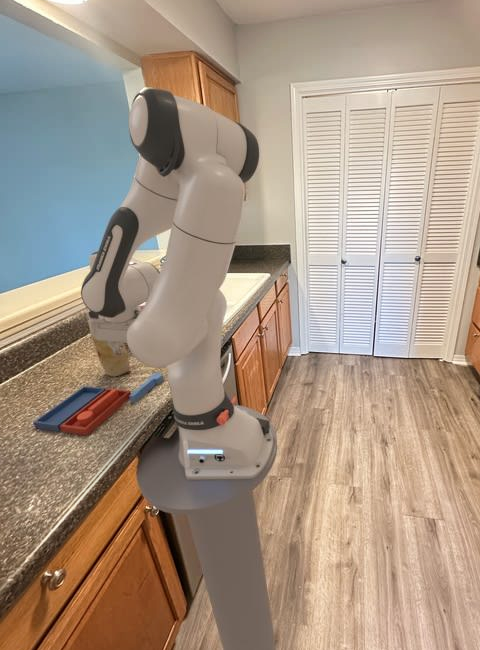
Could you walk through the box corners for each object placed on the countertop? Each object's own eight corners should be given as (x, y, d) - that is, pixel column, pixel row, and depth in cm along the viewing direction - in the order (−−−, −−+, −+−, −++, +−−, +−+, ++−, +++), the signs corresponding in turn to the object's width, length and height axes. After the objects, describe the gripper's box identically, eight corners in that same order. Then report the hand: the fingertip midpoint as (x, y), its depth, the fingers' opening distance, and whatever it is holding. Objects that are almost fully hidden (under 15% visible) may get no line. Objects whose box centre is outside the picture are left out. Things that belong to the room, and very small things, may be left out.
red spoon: (112, 395, 95) (110, 388, 94) (122, 396, 94) (120, 389, 93) (75, 424, 83) (72, 417, 82) (87, 426, 83) (84, 418, 82)
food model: (136, 367, 110) (121, 313, 102) (124, 378, 104) (106, 321, 96) (110, 366, 111) (93, 313, 103) (96, 377, 105) (77, 321, 97)
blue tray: (107, 393, 96) (105, 388, 96) (59, 431, 82) (57, 425, 81) (86, 391, 98) (84, 386, 97) (35, 428, 84) (32, 422, 83)
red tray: (132, 396, 95) (130, 390, 94) (87, 435, 80) (85, 429, 79) (109, 393, 96) (108, 388, 96) (62, 431, 82) (59, 425, 81)
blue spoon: (138, 403, 91) (136, 396, 90) (127, 402, 92) (125, 395, 91) (165, 378, 103) (163, 372, 102) (155, 377, 103) (153, 371, 102)
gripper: (162, 307, 87) (172, 352, 92) (98, 304, 91) (111, 347, 96) (147, 316, 81) (159, 363, 86) (80, 312, 85) (94, 357, 91)
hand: (133, 355), depth 91 cm, fingers open, 8 cm apart
